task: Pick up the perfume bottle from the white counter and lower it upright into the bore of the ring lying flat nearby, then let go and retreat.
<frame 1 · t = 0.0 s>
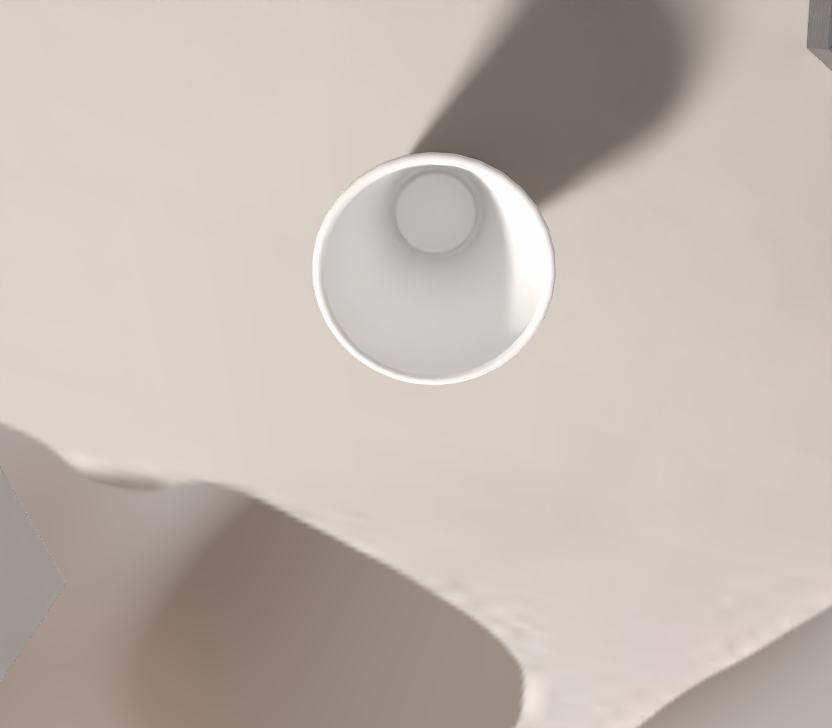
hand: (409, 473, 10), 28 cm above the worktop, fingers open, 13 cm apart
cup: (435, 211, 37), on the worktop
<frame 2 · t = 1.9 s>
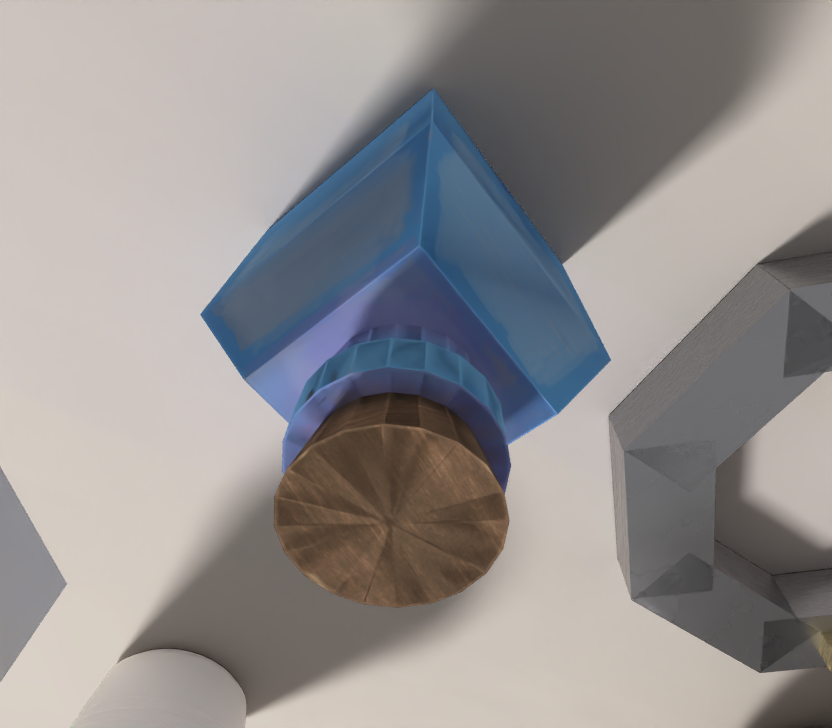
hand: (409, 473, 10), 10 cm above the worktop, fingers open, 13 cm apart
cup: (180, 686, 29), on the worktop
perfume bottle: (415, 245, 20), on the worktop
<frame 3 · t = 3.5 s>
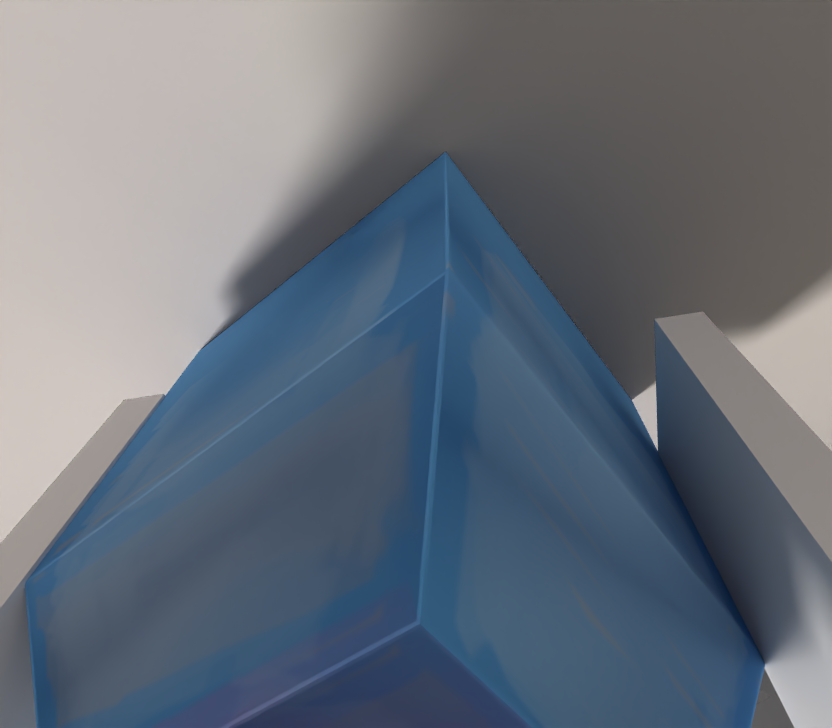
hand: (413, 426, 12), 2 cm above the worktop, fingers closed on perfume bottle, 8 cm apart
perfume bottle: (417, 371, 13), on the worktop, touching gripper
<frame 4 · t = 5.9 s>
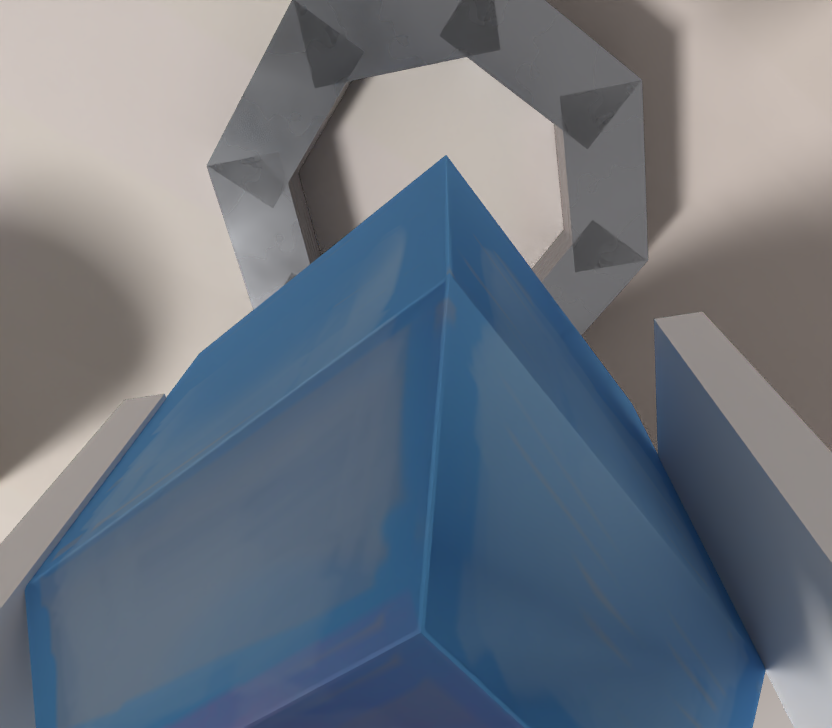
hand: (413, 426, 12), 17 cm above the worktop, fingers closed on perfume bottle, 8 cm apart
ring: (432, 201, 26), on the worktop
perfume bottle: (417, 374, 13), point 14 cm above the worktop, touching gripper
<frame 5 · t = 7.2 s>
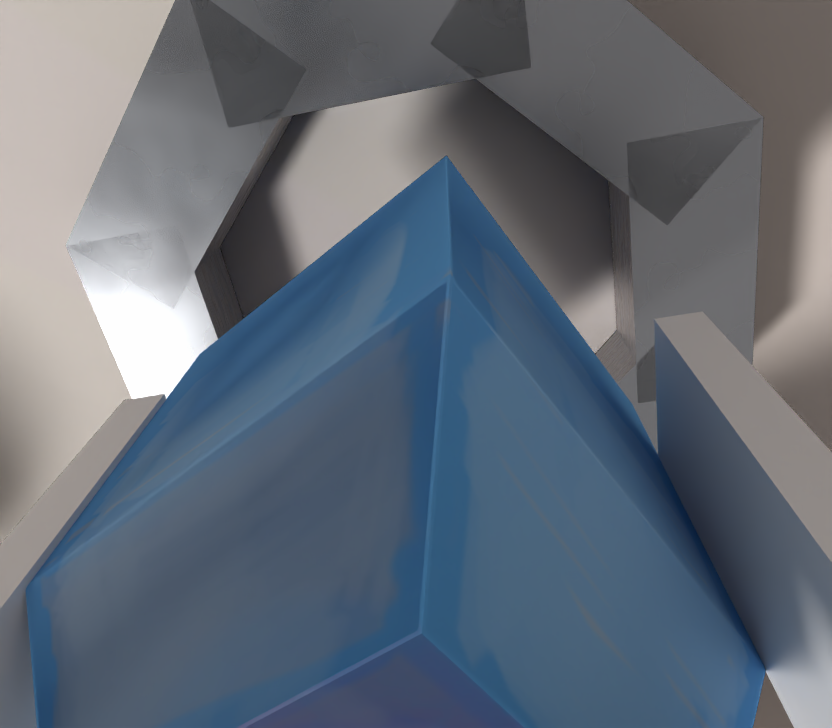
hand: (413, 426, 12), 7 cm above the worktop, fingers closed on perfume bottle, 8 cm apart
ring: (422, 289, 18), on the worktop
perfume bottle: (417, 374, 13), point 5 cm above the worktop, touching gripper
when the fingers open (4 cm above the worktop, at t = 8.1 s): perfume bottle drops 2 cm, resting in ring.
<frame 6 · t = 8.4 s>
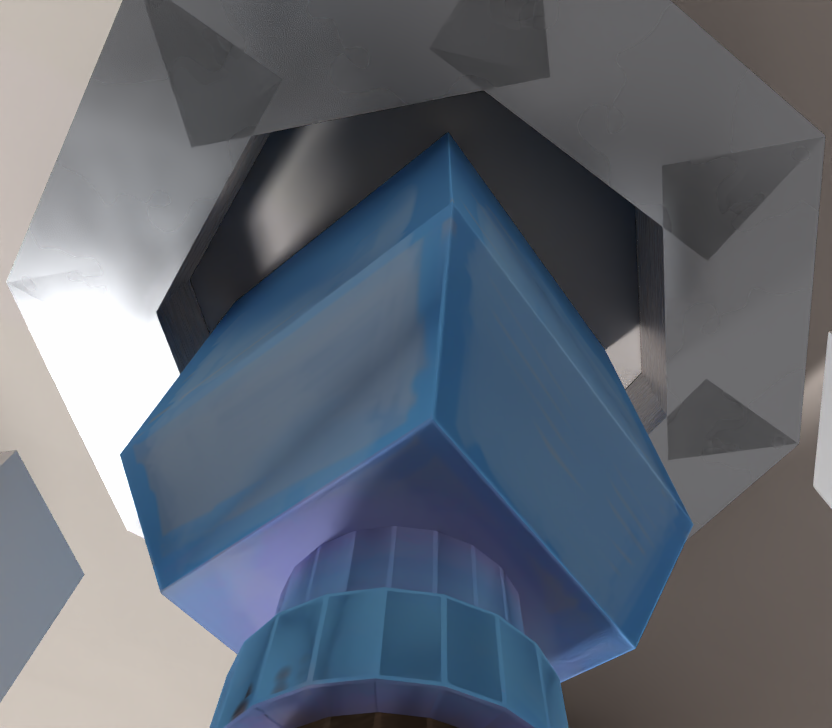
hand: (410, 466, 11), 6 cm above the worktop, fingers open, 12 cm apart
ring: (420, 327, 15), on the worktop
perfume bottle: (421, 322, 16), resting in ring
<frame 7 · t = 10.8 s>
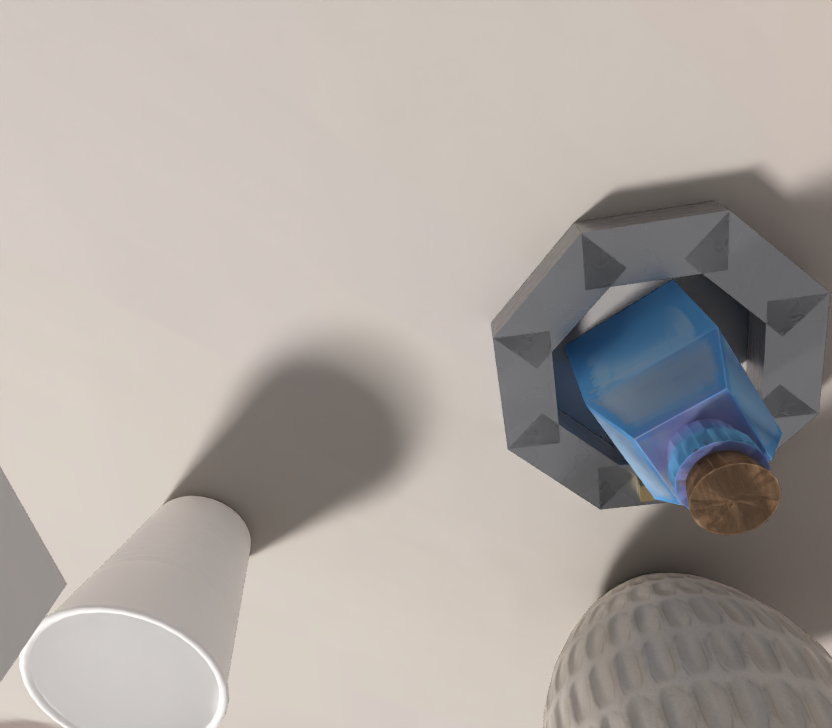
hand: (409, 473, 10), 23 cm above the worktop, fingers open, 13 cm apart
ring: (647, 359, 34), on the worktop
cup: (204, 530, 41), on the worktop
vase: (653, 611, 42), on the worktop
perfume bottle: (646, 357, 35), resting in ring
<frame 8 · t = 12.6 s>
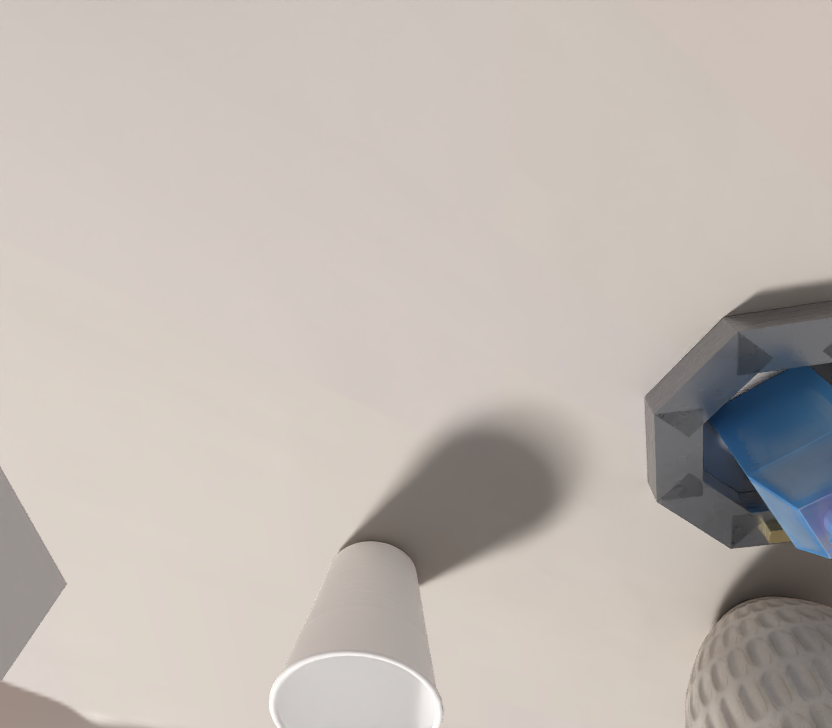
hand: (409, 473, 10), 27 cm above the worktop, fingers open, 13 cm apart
ring: (775, 424, 40), on the worktop
cup: (374, 568, 47), on the worktop
vase: (760, 627, 49), on the worktop
perfume bottle: (773, 421, 41), resting in ring
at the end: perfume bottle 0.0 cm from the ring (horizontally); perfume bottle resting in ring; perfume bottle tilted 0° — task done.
